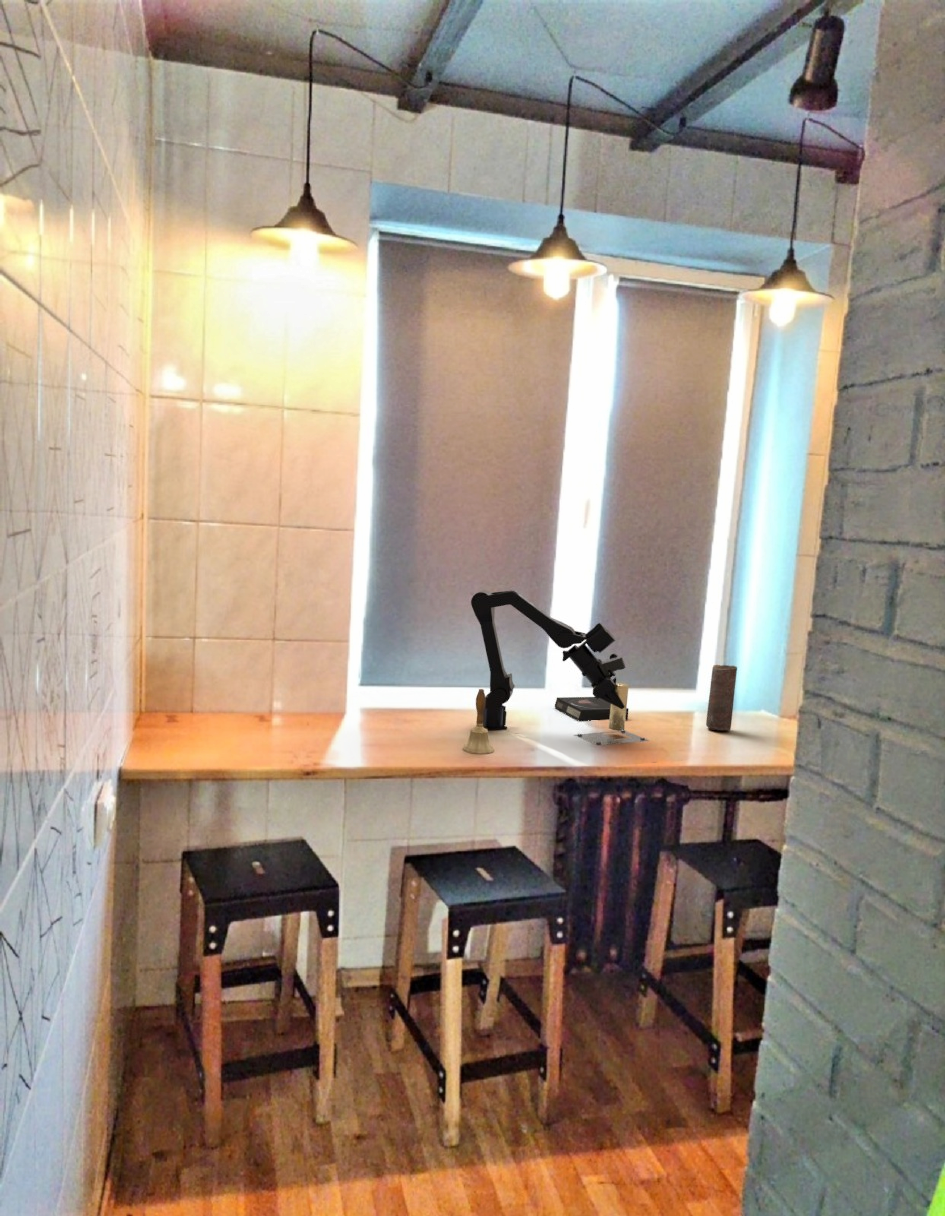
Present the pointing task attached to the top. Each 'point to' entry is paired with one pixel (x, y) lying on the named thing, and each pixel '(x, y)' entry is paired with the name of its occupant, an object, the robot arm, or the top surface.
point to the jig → (605, 740)
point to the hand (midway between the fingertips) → (623, 706)
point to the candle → (721, 697)
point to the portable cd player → (585, 708)
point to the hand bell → (479, 730)
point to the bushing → (615, 712)
